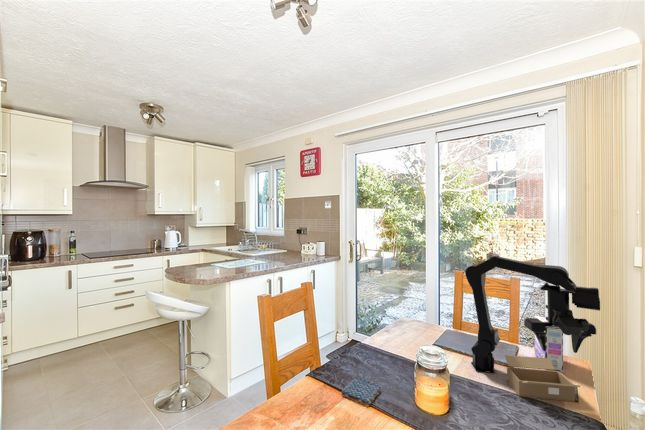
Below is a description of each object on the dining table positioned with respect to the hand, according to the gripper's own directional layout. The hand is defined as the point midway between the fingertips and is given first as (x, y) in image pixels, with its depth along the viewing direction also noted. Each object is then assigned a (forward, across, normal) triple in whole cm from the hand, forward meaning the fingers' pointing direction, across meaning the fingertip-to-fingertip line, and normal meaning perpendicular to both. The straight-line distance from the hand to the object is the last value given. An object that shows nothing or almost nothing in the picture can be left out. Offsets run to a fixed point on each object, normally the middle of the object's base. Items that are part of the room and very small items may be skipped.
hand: (559, 351), depth 99 cm
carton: (+13, -7, -1) cm, 15 cm away
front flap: (+7, -7, -7) cm, 12 cm away
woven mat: (+13, -65, -12) cm, 68 cm away
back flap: (+7, -6, +6) cm, 11 cm away
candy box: (+14, +7, +21) cm, 26 cm away
